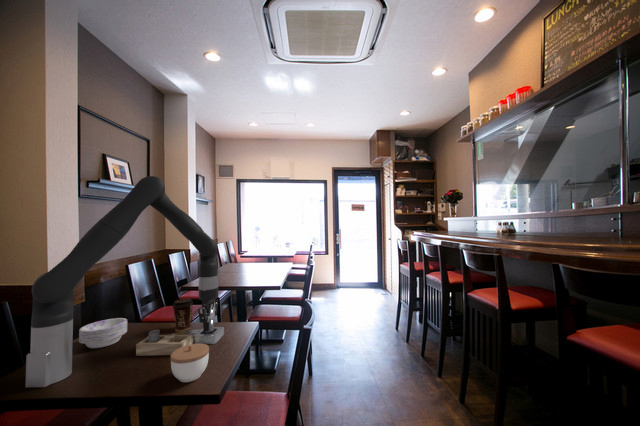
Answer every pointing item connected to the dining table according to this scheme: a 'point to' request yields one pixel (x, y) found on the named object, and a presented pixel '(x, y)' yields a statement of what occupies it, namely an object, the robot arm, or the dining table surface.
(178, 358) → the lidded jar
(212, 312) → the grey metal cylinder
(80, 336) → the paper bowls
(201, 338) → the socket block
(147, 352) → the rack
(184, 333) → the white and yellow block
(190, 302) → the coffee cup
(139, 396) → the dining table surface
